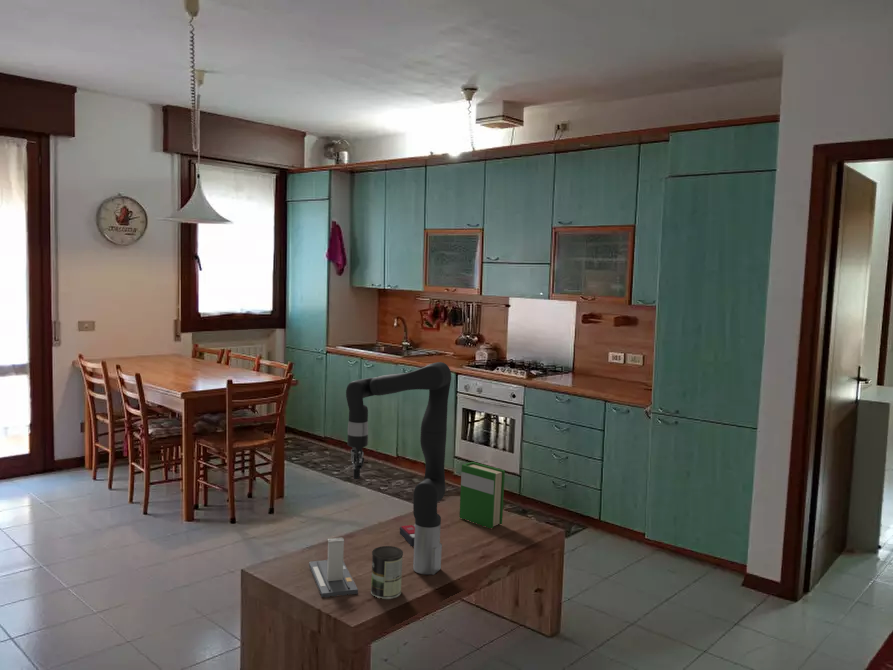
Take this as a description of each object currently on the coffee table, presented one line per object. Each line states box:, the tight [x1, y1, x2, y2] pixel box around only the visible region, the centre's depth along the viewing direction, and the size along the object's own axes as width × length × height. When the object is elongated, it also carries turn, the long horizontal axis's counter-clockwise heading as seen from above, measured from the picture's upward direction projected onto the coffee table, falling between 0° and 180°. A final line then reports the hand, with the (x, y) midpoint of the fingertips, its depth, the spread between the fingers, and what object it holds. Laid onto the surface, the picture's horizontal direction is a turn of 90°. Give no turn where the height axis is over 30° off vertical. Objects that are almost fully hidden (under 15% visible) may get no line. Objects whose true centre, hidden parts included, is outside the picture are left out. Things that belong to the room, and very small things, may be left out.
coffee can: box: [370, 545, 404, 600], centre depth 243 cm, size 10×10×14 cm
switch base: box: [308, 559, 359, 598], centre depth 252 cm, size 26×12×2 cm, turn 20°
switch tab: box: [327, 537, 345, 581], centre depth 247 cm, size 2×5×14 cm, turn 110°
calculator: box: [399, 524, 415, 548], centre depth 293 cm, size 11×4×15 cm
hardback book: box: [459, 461, 506, 529], centre depth 313 cm, size 18×7×24 cm, turn 49°
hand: (356, 478), depth 272 cm, fingers closed
